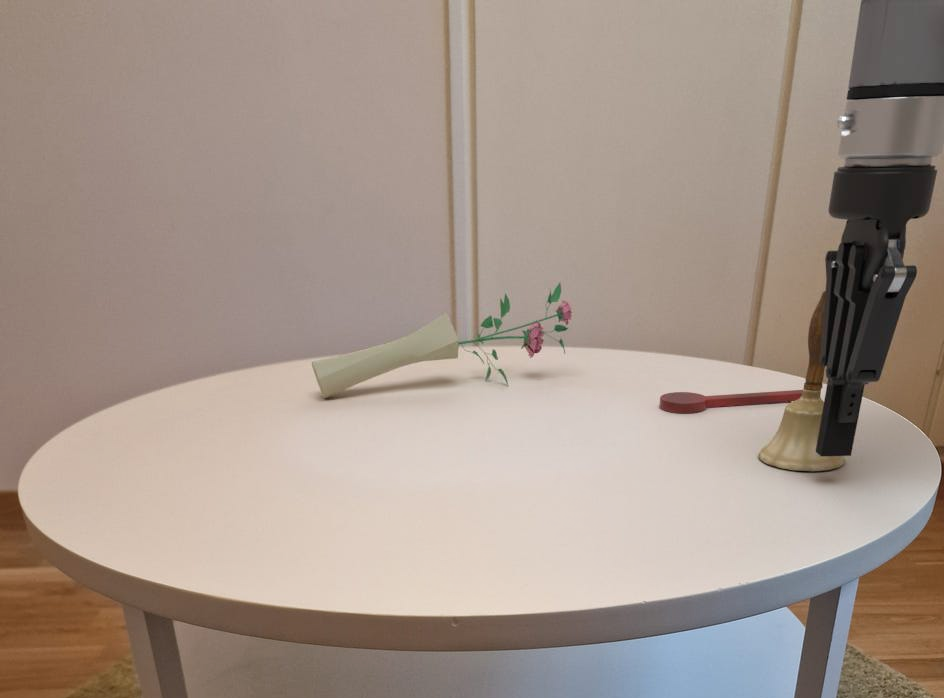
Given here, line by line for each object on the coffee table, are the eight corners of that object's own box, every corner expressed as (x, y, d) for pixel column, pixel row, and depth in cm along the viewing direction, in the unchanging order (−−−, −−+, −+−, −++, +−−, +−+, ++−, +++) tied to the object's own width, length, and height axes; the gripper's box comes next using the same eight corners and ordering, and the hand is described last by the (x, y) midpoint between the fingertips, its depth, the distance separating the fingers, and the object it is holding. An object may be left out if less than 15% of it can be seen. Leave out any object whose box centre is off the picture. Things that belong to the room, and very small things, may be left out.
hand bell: (771, 442, 94) (794, 283, 87) (852, 454, 90) (885, 288, 82) (747, 464, 88) (770, 295, 80) (833, 477, 84) (866, 301, 76)
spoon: (799, 393, 112) (801, 384, 111) (821, 404, 107) (823, 394, 107) (653, 403, 110) (654, 393, 109) (668, 414, 105) (669, 404, 105)
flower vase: (338, 444, 124) (566, 366, 128) (343, 442, 112) (594, 356, 116) (308, 361, 121) (542, 283, 125) (310, 350, 109) (568, 265, 113)
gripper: (810, 162, 75) (770, 434, 87) (872, 165, 64) (817, 478, 75) (898, 159, 75) (847, 432, 87) (976, 162, 64) (905, 475, 75)
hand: (833, 453), depth 81 cm, fingers closed
